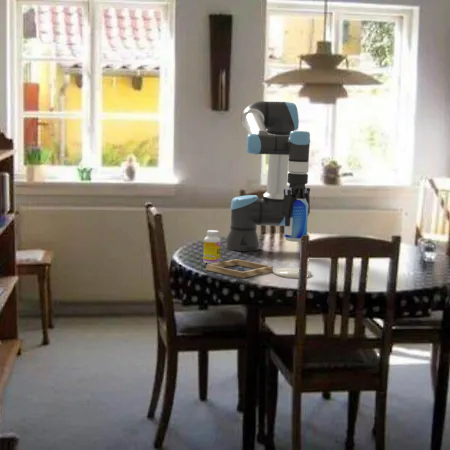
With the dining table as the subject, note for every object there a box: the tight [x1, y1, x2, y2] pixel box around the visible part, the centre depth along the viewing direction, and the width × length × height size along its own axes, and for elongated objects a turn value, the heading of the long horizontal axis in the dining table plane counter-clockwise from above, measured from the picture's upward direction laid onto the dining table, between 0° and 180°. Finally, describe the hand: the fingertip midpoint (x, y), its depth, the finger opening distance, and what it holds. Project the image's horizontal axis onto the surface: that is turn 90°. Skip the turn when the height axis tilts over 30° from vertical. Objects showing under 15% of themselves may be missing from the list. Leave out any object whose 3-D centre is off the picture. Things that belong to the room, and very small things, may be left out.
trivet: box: [273, 267, 312, 279], centre depth 299 cm, size 14×14×1 cm
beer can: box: [283, 198, 309, 243], centre depth 297 cm, size 8×8×16 cm
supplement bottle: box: [202, 229, 222, 265], centre depth 314 cm, size 7×7×13 cm
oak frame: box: [205, 258, 274, 279], centre depth 302 cm, size 18×18×2 cm
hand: (294, 233), depth 297 cm, fingers closed on beer can, 7 cm apart
